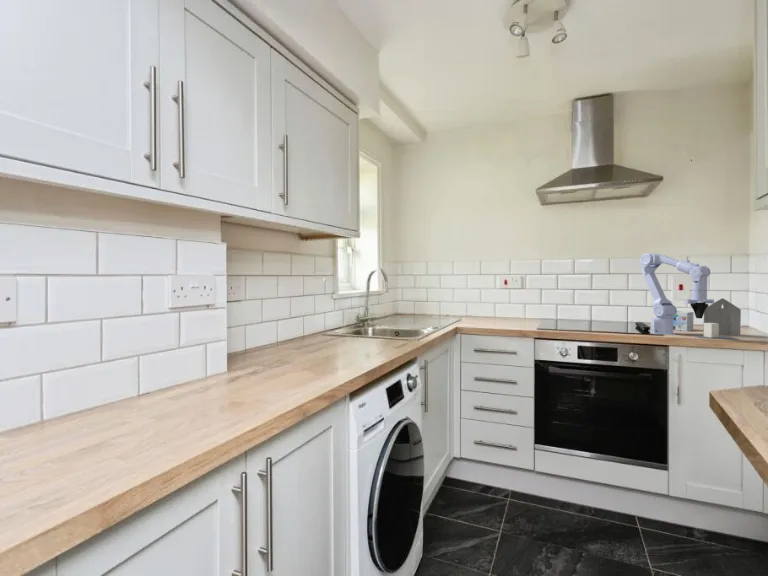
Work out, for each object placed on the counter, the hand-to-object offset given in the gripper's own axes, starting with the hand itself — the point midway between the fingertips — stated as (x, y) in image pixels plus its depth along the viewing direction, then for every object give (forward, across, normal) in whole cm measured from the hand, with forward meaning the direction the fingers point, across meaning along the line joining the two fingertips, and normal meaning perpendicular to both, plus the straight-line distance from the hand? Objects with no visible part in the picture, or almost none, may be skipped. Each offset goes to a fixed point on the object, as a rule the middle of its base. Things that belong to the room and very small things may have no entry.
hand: (699, 318), depth 193 cm
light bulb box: (+10, +20, +30) cm, 37 cm away
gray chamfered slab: (+10, +24, +12) cm, 29 cm away
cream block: (+10, +7, 0) cm, 12 cm away
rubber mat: (+10, +10, 0) cm, 14 cm away
